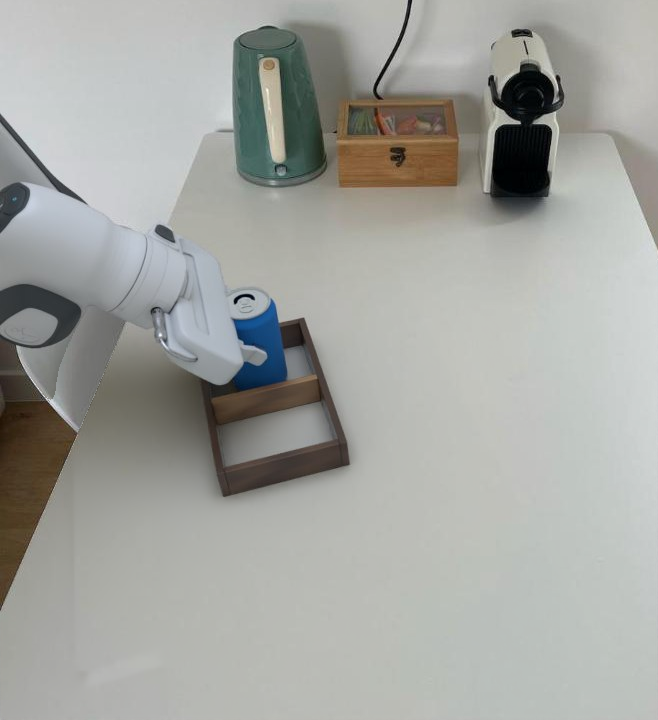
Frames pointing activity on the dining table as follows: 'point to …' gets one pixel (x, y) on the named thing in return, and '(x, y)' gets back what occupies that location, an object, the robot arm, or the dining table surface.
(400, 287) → the dining table surface
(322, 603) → the dining table surface
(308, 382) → the tray
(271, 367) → the beverage can
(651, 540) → the dining table surface
